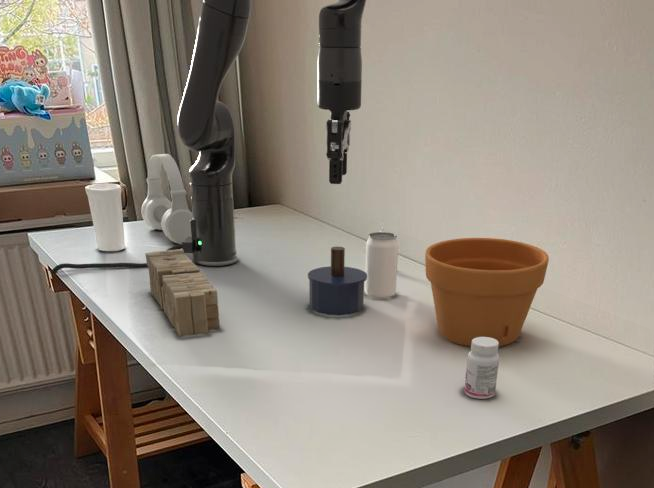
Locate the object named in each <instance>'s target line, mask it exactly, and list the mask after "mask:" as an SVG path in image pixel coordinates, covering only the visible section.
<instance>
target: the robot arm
mask: <svg viewBox="0 0 654 488" xmlns="http://www.w3.org/2000/svg"><path fill="white" fill-rule="evenodd" d="M366 2H367V0H338V1H336V2H334V3H330V4H327V5H324V6H323V7H322V8H321V9H320V10H319V15H318V53H317V61H316V77H317V78H316V92H317V93H316V99H317V100H316V102H317V103H316V104H317V105H316V106H317V107H318V108H319V109H321V110H325V111H326V110H328V111H329V112H330V119H327V121H326V123H325V124H326V125H325V126H326V127H325V128H326V155H325V156H326V159H327V160H328V166H329V167H328V182H329V184H332V185H341V184H342V182H343V176H346V175H347V173H348V171H347V170H348V153H349V149H350V148H349V147H350V146H351V144H350V143H351V129H352V120H351V119H350V117H351V114H350V111H357V110H359V109H360V108H361V107H362V84H363V83H362V81H363V79H362V78H363V77H362V74H363V58H362V48H361V47H362V21H363V15H364V11H365V7H366ZM251 12H252V0H202V2H201V7H200V13H199V19H198V27H197V33H196V39H195V44H194V49H193V54H192V58H191V59H192V60H191V65H190V70H189V73H188V78H187V82H186V86H185V88H184V92H183V96H182V100H181V103H180V106H179V110H178V114H177V133H178V136H179V139H180V141H181V143H182V144H183V146H184V147H186V149H188V150H190V151H193V152H198V153H199V154H198V157H197V160H195V163H194V164H193V165H192V166H191V167H190V168H189V171H188V172H189V173H188V175H189V176H188V177H189V179H188V180H189V189H190V201H191V212H192V216H193V219H191V220H190V225H191V237H187V238H186V239H185V240H184V241H183V242H182V244H177V245H173V246H171V247H169V248H167V249H165V251H168V250H177V249H183V250H184V253H185V254H192V260H193V261H192V262H193V263H194V264H198V265H202V266H205V267H225V266H229V265H232V264H235V263H237V261H238V256H237V243H236V226H235V207H234V191H233V190H234V189H233V173H234V170H235V165H236V131H235V123H234V118H233V115H232V113H231V111H230V109H229V108H228V106H227V105H226V104H225V103H223V102H222V101H219V100H218V98H219V94H220V91H221V87H222V85H223V82H224V80H225V79H226V77H227V75H228V73H229V71H230V70H231V68H232V66H233V65H234V63H235V62H236V60H237V57H238V56H239V54H240V52H241V49H242V48H243V46H244V43H245V40H246V37H247V32H248V27H249V23H250V18H251ZM112 268H113V269H114V268H116V269H117V268H133V269H138V268H139V269H140V268H141V269H142V268H149V267H148V266H147V262H141V263H140V262H138V263H137V262H105V263H104V262H102V263H101V262H100V263H95V262H94V263H70V262H69V263H67V262H65V263H59V264H57V265H56V266H54V267H53V268H52V269H51V271H50V274H56V273H58V271H61V270H62V269H72V270H73V269H75V270H79V269H81V270H83V269H112Z"/></svg>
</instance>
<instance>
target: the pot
mask: <svg viewBox="0 0 654 488" xmlns="http://www.w3.org/2000/svg"><path fill="white" fill-rule="evenodd" d="M308 280H309V279H308ZM308 285H309V308H310V309H311V310H312V311H314V312H316V313H318V314H323V315H328V316H347V315H352V314H353V315H354V314H356V313H359V312H361V311H362V310H364V305H365V302H364V301H365V281H364V282H362V283H360V284H356V285H349V286H329V285H322V284H318V283H315V282H312V281H311V280H309V284H308Z"/></svg>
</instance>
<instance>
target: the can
mask: <svg viewBox="0 0 654 488" xmlns="http://www.w3.org/2000/svg"><path fill="white" fill-rule="evenodd" d="M397 237H398V235H397V234H396V233H393V232H386V231H384V232H380V231H375V232H371V233H369V234H368V238H367V241H366V242H365V264H364V265H365V269H364V272H365V273H366V274H367V279H366V281H364V295H367V296H370V297H375V298H389V297H393V296H396V294H397V282H398V281H397V280H398V266H399V265H398V264H399V263H398V262H399V242H398V239H397Z"/></svg>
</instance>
